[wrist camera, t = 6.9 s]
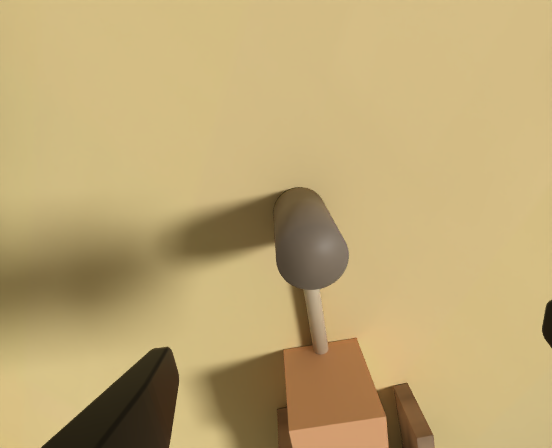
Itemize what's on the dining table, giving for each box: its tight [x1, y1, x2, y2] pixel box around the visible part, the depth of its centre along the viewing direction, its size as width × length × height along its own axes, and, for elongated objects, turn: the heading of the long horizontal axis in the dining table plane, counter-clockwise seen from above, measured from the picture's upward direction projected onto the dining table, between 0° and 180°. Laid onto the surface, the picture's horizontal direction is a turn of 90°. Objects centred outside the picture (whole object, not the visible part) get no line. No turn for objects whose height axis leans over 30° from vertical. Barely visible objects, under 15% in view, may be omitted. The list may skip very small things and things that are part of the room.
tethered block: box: [273, 187, 389, 448], centre depth 19 cm, size 16×5×6 cm, turn 10°
